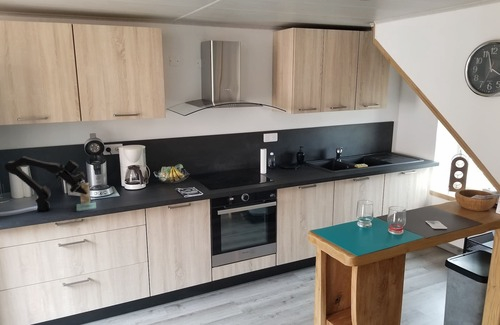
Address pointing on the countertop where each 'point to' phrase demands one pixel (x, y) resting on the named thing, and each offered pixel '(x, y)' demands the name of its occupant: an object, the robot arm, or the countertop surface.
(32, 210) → the countertop surface
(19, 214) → the countertop surface
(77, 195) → the light bulb box
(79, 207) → the teal pad
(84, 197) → the beech block
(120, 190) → the countertop surface
